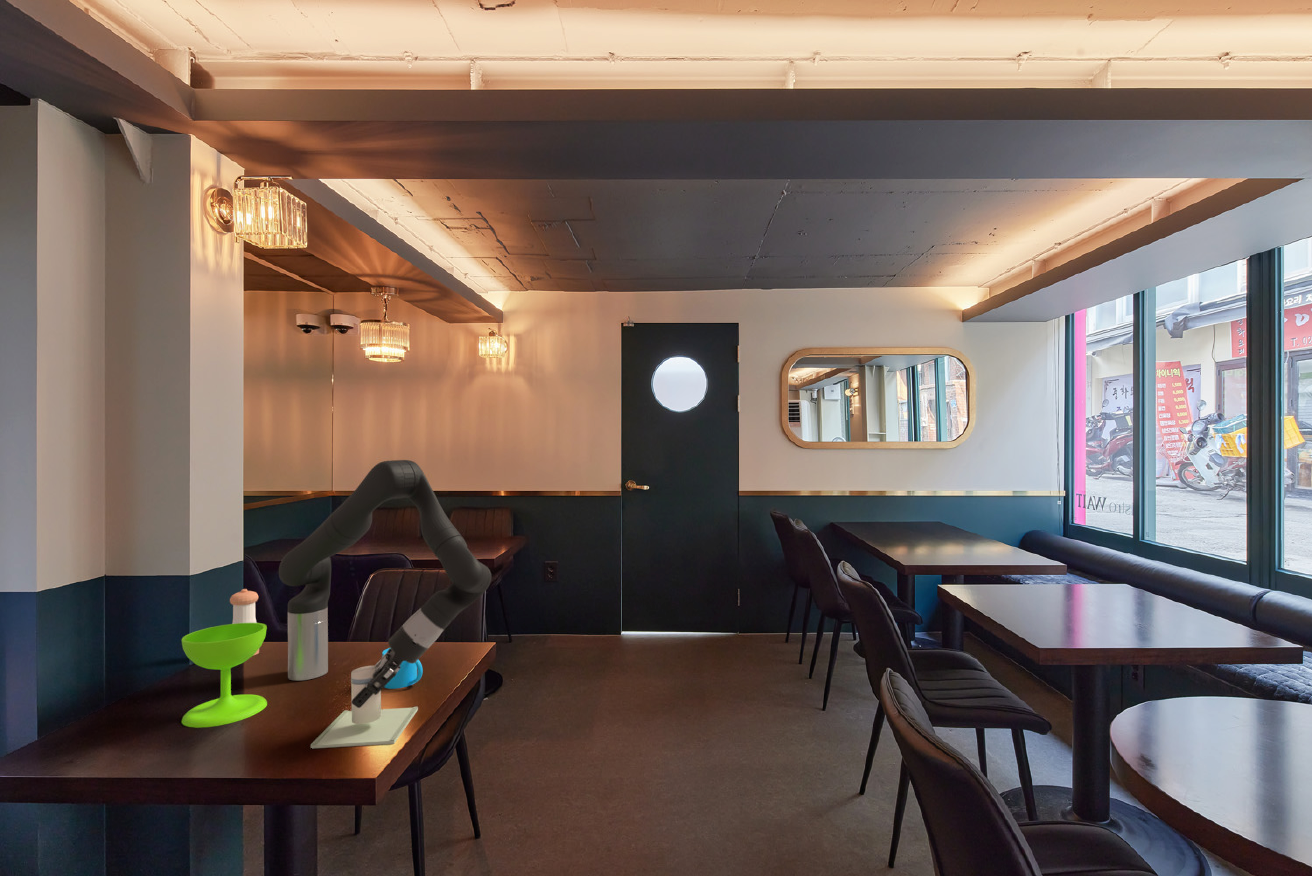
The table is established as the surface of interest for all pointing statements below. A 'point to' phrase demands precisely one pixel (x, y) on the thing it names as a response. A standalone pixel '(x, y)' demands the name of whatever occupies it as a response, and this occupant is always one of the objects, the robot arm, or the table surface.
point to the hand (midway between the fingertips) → (357, 699)
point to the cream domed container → (373, 705)
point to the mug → (405, 674)
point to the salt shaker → (244, 607)
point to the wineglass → (224, 671)
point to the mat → (365, 729)
